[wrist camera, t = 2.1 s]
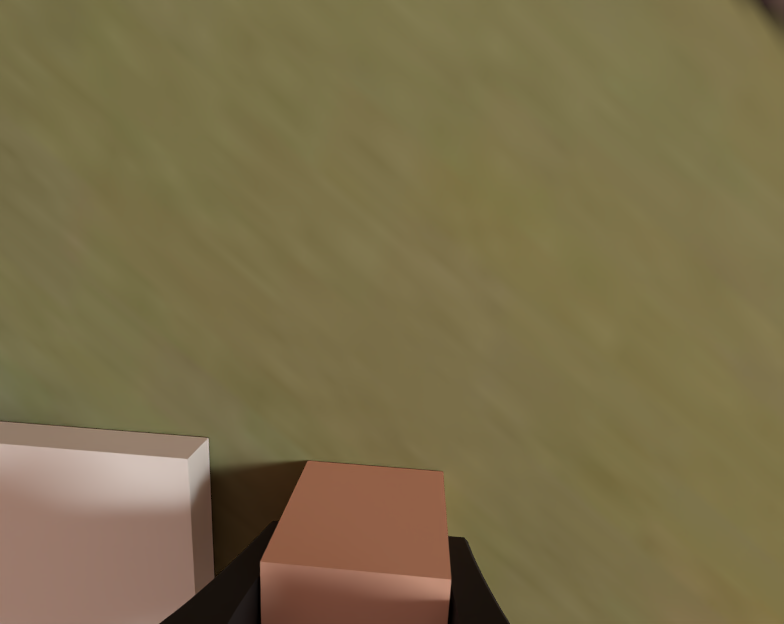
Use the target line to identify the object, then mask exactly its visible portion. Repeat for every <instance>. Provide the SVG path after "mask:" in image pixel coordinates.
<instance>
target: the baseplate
mask: <svg viewBox="0 0 784 624" xmlns="http://www.w3.org/2000/svg"><path fill="white" fill-rule="evenodd" d="M213 579H214V558H213V534H212V510H211V486H210V463H209V439H208V438H205V437H192V436H180V435H167V434H154V433H141V432H129V431H116V430H103V429H91V428H78V427H65V426H52V425H40V424H27V423H14V422H1V421H0V624H159V623H160V622H162V621H163V620H164V619H166V618H167V617H168V616H170V615H171V614H172V613H174V612H175V611H176V610H177V609H179V608H180V607H181V606H182V605H184V604H185V603H186V602H187V601H189V600H190V599H191V598H192V597H193V596H194V595H196V594H197V593H198V592H199V591H200V590H201V589H203V588H204V587H205V586H206V585H207V584H208V583H209V582H211V581H212V580H213Z"/></svg>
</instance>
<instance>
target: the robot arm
mask: <svg viewBox="0 0 784 624" xmlns="http://www.w3.org/2000/svg"><path fill="white" fill-rule="evenodd" d="M278 523H279V521H273V522H271V523H270V524H269V525H268V526H267V527H266V528H265V529H264V530H263V531H262V532H261V533H260V534H259V535H258V536H257V537H256V538H255V539H254V540H253V542H252V543H251V544H250V545H249V546H248V547H247V548H246V549H245V550H244V551H243V552H242V553H241V554H240V555H239V556H237V557H236V558H235V559H234V560H233V561H232V562H231V563H230V564H229V565H228V566H227V567H226V568H225V569H224V570H223V571H222V572H221V573H220V574H218V575H217V576H216V577H215V578H214V579H213V580H212V581H211V582H209V583H208V584H207V585H206V586H205V587H204V588H203V589H201V590H200V591H199V592H198V593H197V594H196V595H194V596H193V597H192V598H191V599H190V600H189V601H187V602H186V603H185V604H184V605H182V606H181V607H180V608H179V609H177V610H176V611H175V612H174V613H172V614H171V615H170V616H168V617H167V618H166V619H164V620H163V621H162V622H160V623H159V624H261V585H260V561H261V559H262V557H263V555H264V552H265V550H266V548H267V546H268V544H269V542H270V540H271V538H272V535H273V533H274V531H275V529H276V527H277V525H278ZM448 542H449V555H450V568H451V589H450V601H449V612H448V623H447V624H510V623H509V621H508V620H507V618H506V616H505V615H504V613H503V611H502V610H501V608H500V606H499V605H498V603H497V601H496V599H495V598H494V596H493V594H492V592H491V590H490V589H489V587H488V585H487V583H486V581H485V579H484V577H483V575H482V573H481V571H480V569H479V567H478V565H477V563H476V561H475V558H474V556H473V554H472V551H471V549H470V546H469V544H468V541H467V540H466V539H465V538H463V537H452V536H448Z"/></svg>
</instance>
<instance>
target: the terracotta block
mask: <svg viewBox="0 0 784 624" xmlns="http://www.w3.org/2000/svg"><path fill="white" fill-rule="evenodd" d="M260 585H261V624H447V623H448V612H449V601H450V589H451V568H450V555H449V542H448V529H447V516H446V503H445V490H444V477H443V472H442V471H429V470H417V469H405V468H392V467H380V466H367V465H355V464H342V463H330V462H318V461H307V463H306V465H305V468H304V470H303V472H302V474H301V476H300V478H299V480H298V482H297V485H296V487H295V489H294V491H293V493H292V495H291V497H290V499H289V502H288V504H287V506H286V508H285V510H284V512H283V514H282V516H281V518H280V521H279V523H278V525H277V527H276V529H275V531H274V533H273V535H272V538H271V540H270V542H269V544H268V546H267V548H266V550H265V552H264V555H263V557H262V559H261V561H260Z"/></svg>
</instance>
